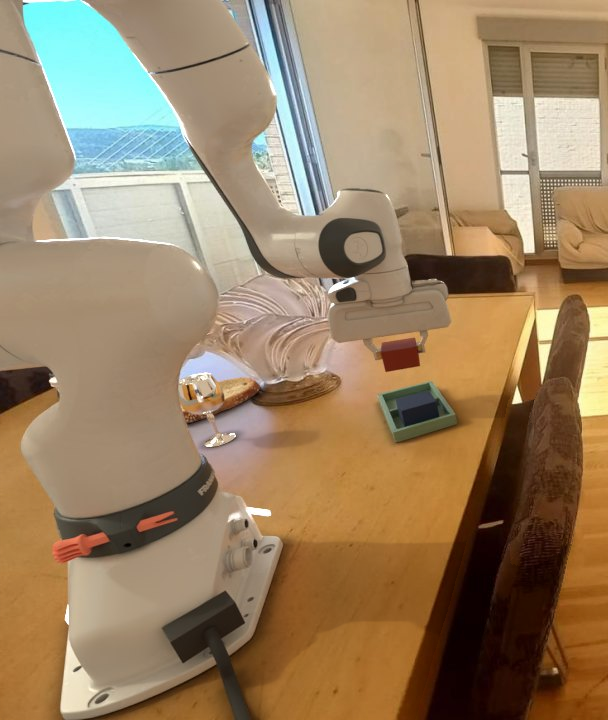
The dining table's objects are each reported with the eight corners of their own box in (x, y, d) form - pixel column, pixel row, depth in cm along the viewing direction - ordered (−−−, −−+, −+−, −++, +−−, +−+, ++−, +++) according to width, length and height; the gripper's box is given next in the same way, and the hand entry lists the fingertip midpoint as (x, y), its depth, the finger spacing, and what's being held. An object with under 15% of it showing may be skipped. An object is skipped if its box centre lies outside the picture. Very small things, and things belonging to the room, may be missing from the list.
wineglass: (217, 450, 81) (190, 387, 76) (190, 447, 82) (162, 385, 77) (248, 432, 86) (224, 372, 81) (222, 430, 87) (197, 370, 82)
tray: (457, 424, 87) (455, 414, 86) (395, 443, 81) (392, 432, 81) (433, 389, 100) (431, 380, 99) (379, 403, 95) (377, 394, 94)
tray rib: (439, 404, 93) (438, 397, 92) (391, 418, 88) (389, 411, 88) (439, 403, 93) (437, 396, 92) (391, 416, 89) (389, 409, 88)
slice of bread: (267, 383, 105) (262, 368, 104) (227, 423, 89) (219, 406, 88) (173, 394, 101) (166, 378, 100) (113, 438, 85) (103, 420, 84)
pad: (440, 420, 87) (436, 401, 85) (406, 430, 84) (401, 410, 82) (432, 408, 91) (429, 390, 90) (399, 417, 88) (395, 399, 87)
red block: (420, 366, 89) (416, 346, 88) (385, 372, 87) (380, 352, 86) (419, 356, 94) (415, 337, 92) (386, 361, 92) (381, 342, 90)
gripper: (444, 274, 91) (456, 341, 96) (322, 287, 84) (343, 358, 89) (446, 281, 85) (459, 351, 91) (317, 295, 78) (339, 371, 84)
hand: (400, 355), depth 90 cm, fingers closed on red block, 6 cm apart
